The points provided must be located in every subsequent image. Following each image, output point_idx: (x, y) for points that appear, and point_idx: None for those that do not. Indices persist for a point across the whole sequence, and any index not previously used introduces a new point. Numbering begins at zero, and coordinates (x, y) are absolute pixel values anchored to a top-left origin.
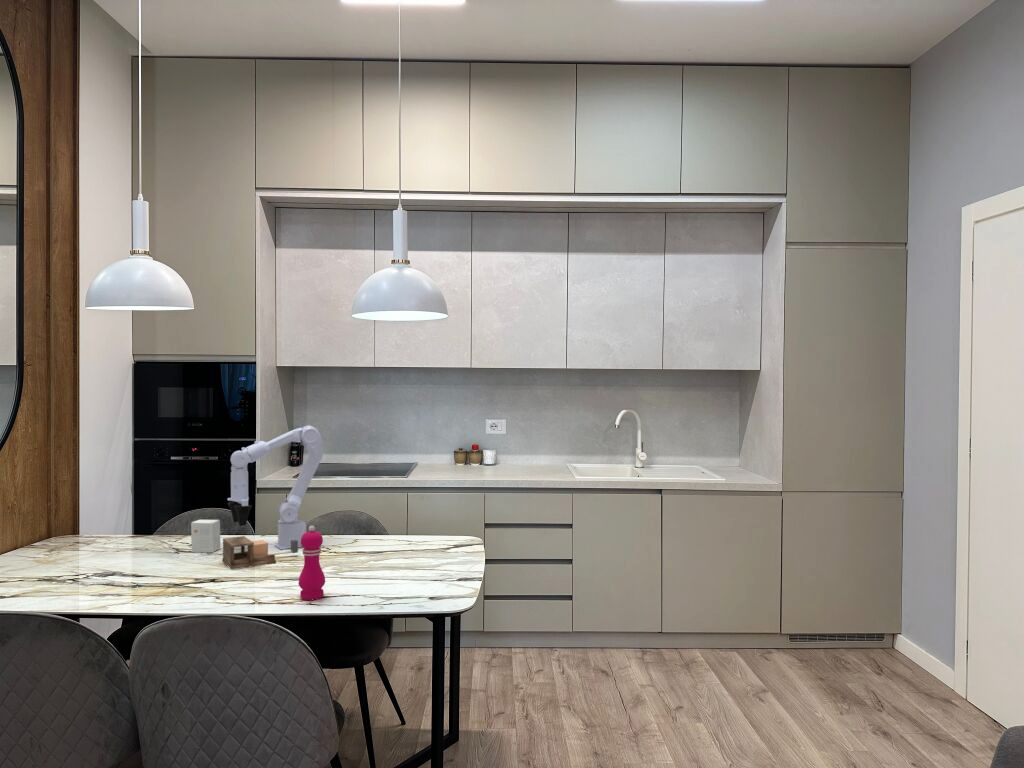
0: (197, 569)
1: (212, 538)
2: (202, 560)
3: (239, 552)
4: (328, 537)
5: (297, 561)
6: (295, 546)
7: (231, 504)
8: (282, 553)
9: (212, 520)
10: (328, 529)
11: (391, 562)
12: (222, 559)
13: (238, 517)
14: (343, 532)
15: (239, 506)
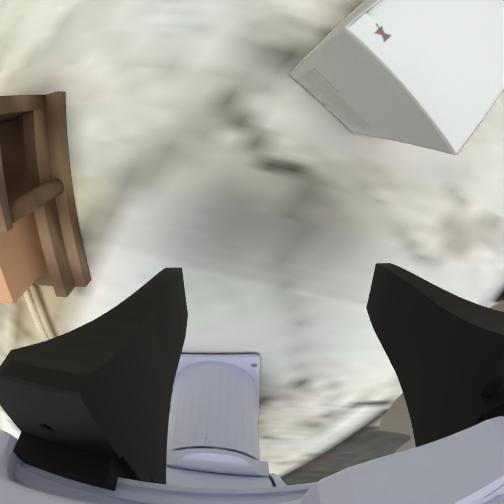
0: (14, 7)
1: (306, 57)
2: (140, 6)
3: (38, 176)
4: (273, 459)
5: (5, 331)
6: None
7: (490, 363)
8: (38, 326)
9: (461, 85)
10: (361, 460)
11: (3, 426)
12: (57, 92)
13: (123, 302)
14: (304, 476)
15: (7, 411)
